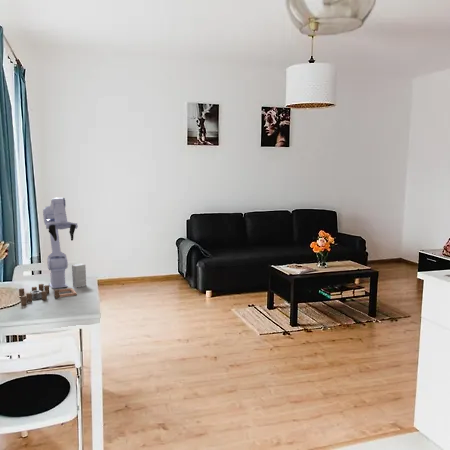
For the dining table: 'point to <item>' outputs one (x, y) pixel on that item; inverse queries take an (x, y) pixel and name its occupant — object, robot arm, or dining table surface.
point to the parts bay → (67, 293)
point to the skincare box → (79, 275)
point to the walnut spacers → (29, 295)
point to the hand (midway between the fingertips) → (64, 239)
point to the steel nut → (36, 294)
